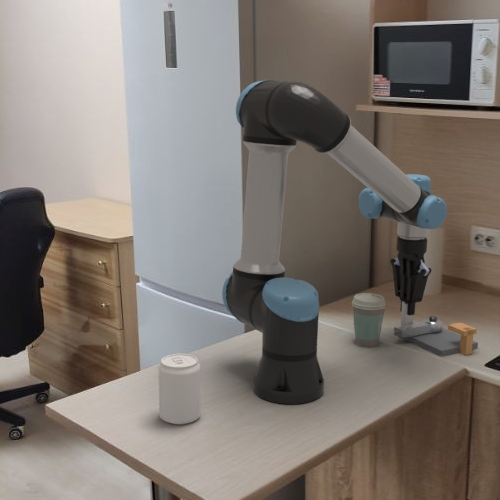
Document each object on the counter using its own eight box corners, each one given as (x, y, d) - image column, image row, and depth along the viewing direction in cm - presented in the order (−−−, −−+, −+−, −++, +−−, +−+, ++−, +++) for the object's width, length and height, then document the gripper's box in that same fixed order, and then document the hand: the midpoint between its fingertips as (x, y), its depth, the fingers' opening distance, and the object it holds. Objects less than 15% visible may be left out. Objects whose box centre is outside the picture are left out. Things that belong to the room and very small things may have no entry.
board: (441, 356, 185) (441, 350, 184) (400, 337, 197) (400, 332, 197) (477, 348, 191) (477, 342, 190) (435, 330, 203) (435, 324, 203)
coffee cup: (383, 350, 189) (386, 303, 186) (348, 347, 190) (350, 301, 187) (384, 338, 197) (387, 293, 194) (351, 335, 198) (353, 291, 195)
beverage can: (166, 429, 146) (165, 370, 143) (154, 412, 153) (153, 355, 151) (206, 422, 149) (206, 364, 147) (192, 405, 157) (192, 350, 154)
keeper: (462, 355, 186) (464, 331, 184) (446, 348, 190) (448, 324, 189) (474, 353, 187) (476, 328, 186) (458, 345, 192) (460, 322, 191)
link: (432, 325, 202) (433, 313, 201) (445, 330, 197) (446, 318, 197) (391, 333, 195) (392, 321, 194) (404, 339, 191) (404, 326, 190)
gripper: (441, 240, 189) (435, 331, 194) (406, 230, 200) (400, 316, 205) (418, 243, 185) (412, 335, 190) (383, 233, 196) (378, 320, 201)
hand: (406, 325), depth 198 cm, fingers closed
